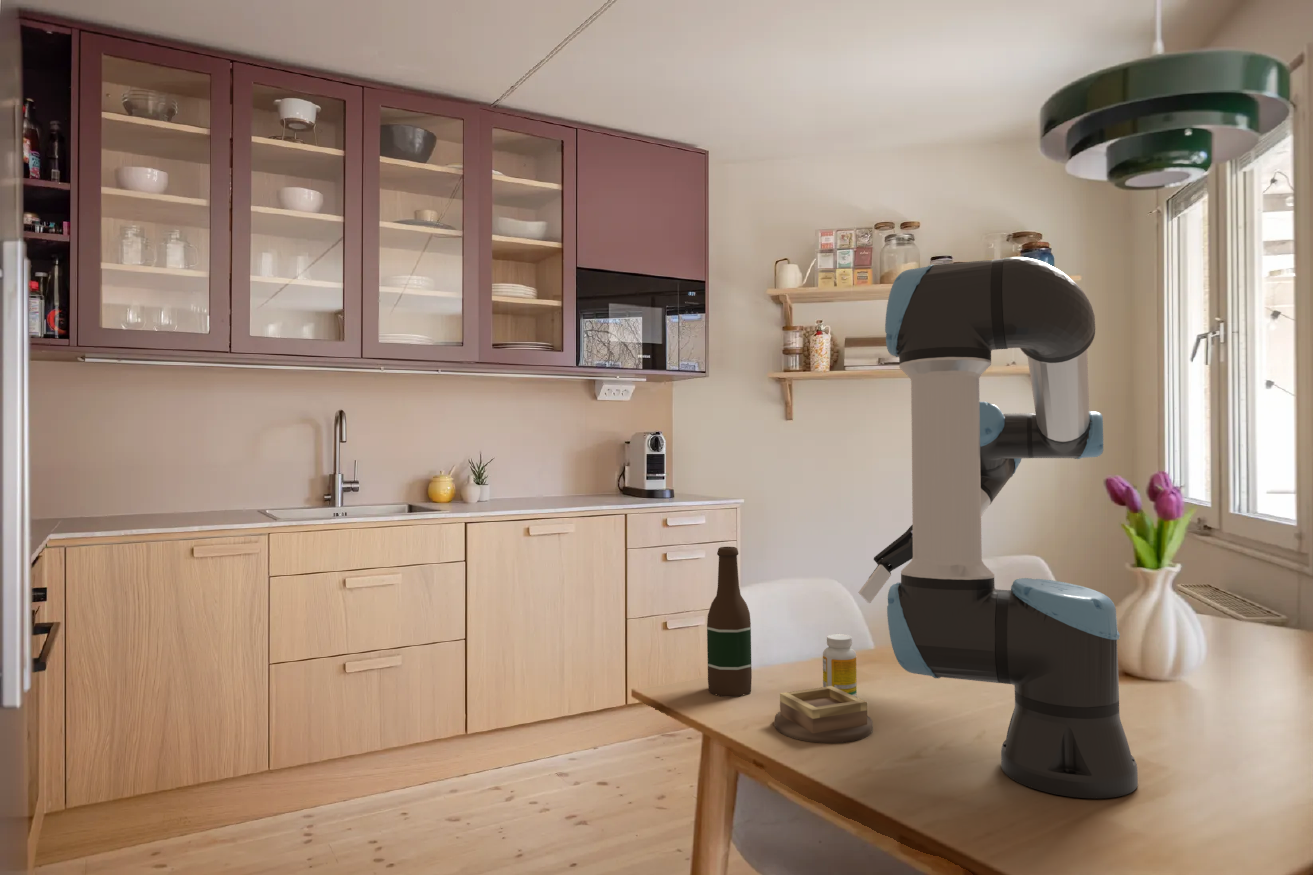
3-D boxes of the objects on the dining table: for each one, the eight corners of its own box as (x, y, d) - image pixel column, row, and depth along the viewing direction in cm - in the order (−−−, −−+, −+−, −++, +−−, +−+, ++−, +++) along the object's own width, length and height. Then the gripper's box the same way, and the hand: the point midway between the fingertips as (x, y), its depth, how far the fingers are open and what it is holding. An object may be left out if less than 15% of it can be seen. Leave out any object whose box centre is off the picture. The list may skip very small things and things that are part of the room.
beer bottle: (715, 699, 140) (713, 551, 140) (700, 686, 147) (698, 545, 147) (760, 695, 142) (758, 548, 142) (743, 682, 149) (741, 543, 149)
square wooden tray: (892, 734, 122) (892, 704, 122) (807, 748, 116) (806, 717, 116) (836, 706, 135) (836, 679, 135) (757, 718, 129) (756, 690, 129)
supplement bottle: (816, 695, 141) (815, 636, 141) (837, 688, 145) (836, 631, 145) (842, 702, 137) (841, 641, 137) (863, 695, 140) (862, 636, 140)
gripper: (1024, 531, 140) (952, 633, 134) (923, 519, 163) (858, 606, 157) (998, 499, 138) (923, 602, 132) (899, 492, 161) (832, 579, 156)
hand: (888, 604), depth 145 cm, fingers open, 13 cm apart
